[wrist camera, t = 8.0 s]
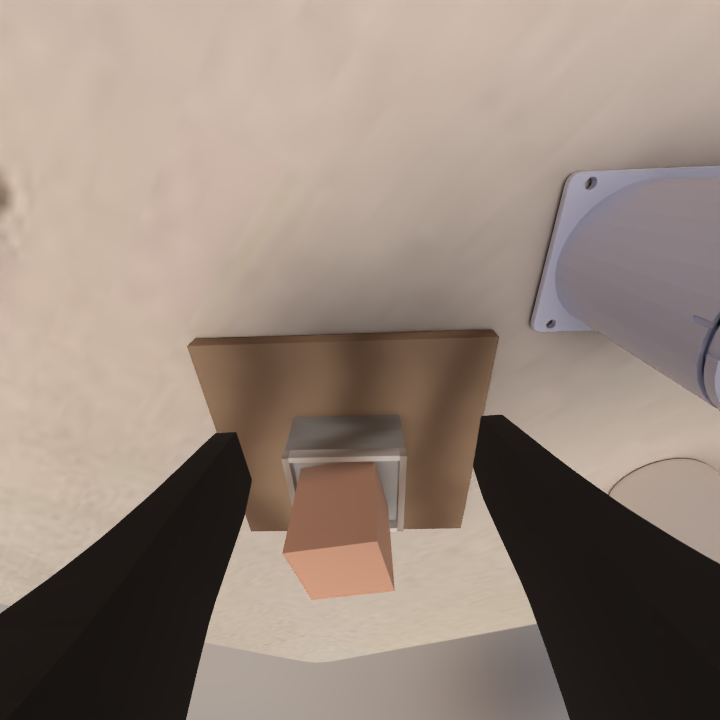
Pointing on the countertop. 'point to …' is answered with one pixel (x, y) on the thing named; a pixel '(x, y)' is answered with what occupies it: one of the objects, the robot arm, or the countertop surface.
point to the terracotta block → (340, 531)
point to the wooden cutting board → (353, 414)
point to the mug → (677, 501)
